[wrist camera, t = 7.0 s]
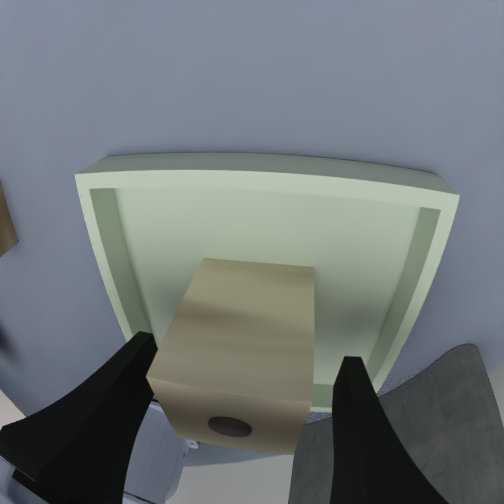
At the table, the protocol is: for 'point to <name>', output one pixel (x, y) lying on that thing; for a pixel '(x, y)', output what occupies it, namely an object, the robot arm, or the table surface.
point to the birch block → (240, 356)
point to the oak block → (6, 227)
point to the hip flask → (426, 434)
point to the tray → (273, 241)
